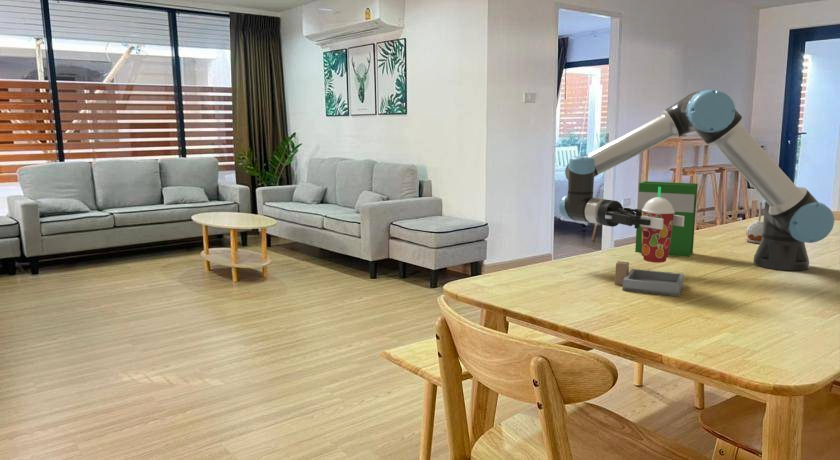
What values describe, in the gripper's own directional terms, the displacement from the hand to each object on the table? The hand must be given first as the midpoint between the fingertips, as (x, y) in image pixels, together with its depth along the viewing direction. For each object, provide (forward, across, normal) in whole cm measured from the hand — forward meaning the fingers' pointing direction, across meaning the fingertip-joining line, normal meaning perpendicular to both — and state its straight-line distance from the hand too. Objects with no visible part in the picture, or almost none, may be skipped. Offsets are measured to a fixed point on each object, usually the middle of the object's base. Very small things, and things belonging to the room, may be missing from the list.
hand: (672, 222), depth 168 cm
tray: (-6, +1, -19) cm, 19 cm away
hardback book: (-33, -43, -19) cm, 57 cm away
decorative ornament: (-26, -88, -18) cm, 94 cm away
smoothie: (-5, 0, -11) cm, 12 cm away
